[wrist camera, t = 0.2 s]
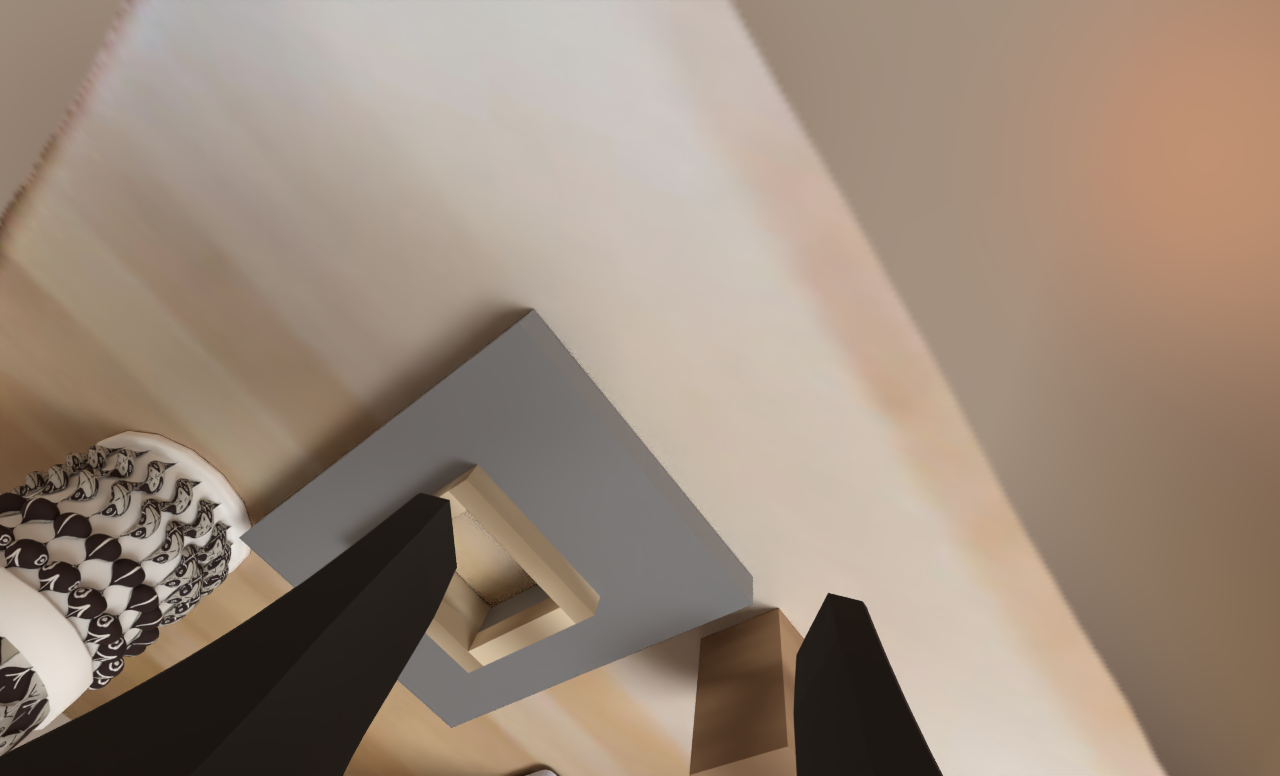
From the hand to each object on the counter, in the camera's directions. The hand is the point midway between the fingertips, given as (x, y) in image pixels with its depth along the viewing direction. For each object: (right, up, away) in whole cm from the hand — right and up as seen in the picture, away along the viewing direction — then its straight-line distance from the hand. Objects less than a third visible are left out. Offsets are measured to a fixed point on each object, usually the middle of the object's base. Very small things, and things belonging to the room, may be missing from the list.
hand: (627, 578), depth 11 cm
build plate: (-6, -3, +15) cm, 16 cm away
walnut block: (+6, -8, +15) cm, 18 cm away
